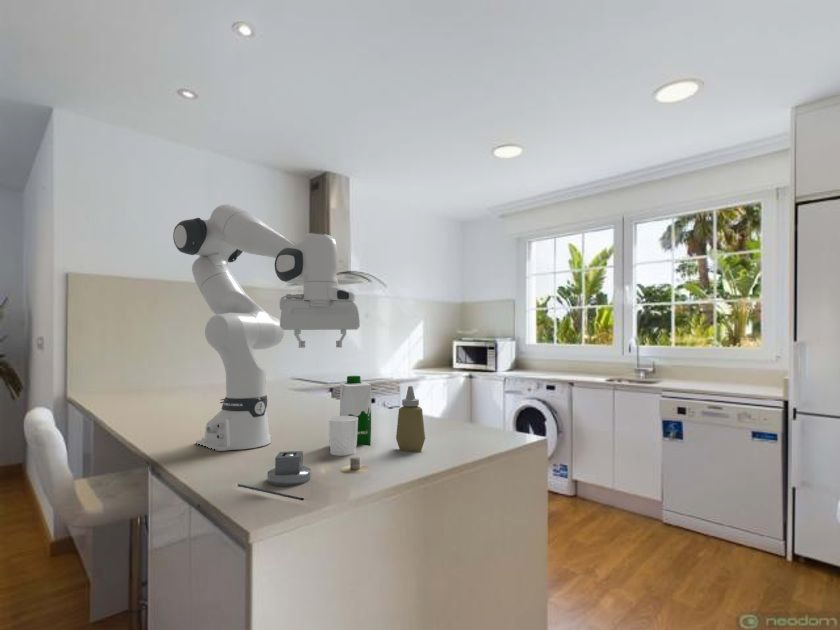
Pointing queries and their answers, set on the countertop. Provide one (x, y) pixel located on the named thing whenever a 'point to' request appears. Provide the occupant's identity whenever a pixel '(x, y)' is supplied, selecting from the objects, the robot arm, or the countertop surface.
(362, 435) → the milk carton
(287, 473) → the square hollow frame
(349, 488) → the countertop surface
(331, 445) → the white cup
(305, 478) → the grey plate with knob
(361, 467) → the stand
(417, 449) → the squeeze bottle
